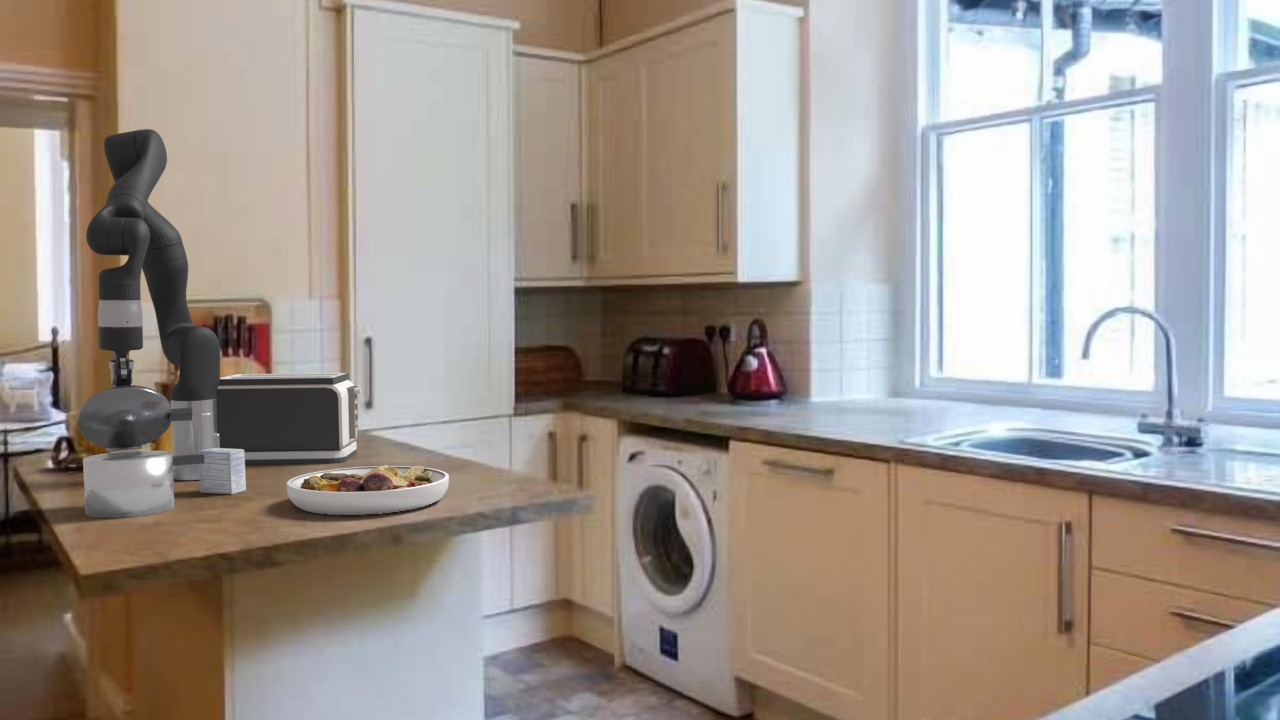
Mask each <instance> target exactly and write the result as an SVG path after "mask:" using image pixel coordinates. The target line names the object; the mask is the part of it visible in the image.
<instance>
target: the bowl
mask: <svg viewBox="0 0 1280 720" xmlns="http://www.w3.org/2000/svg"><path fill="white" fill-rule="evenodd" d="M449 484H450V476H449V474H448V473H447V472H445V471H443V470H440V469H437V468H430V467H424V466H423V465H415V466H414V465H413V466H409V465H407V466H405V465H387V464H384V465H379V466H378V465H375V466H354V467H345V468H334V469H328V470H319V471H314V472H309V473H305V474H301V475H297V476H294V477H292V478H290V479H289V480H288V481H287V482H286V492H287V496H288V498H289V500H290V501H291V503H293V504H294V506H296V507H297V508H299V509H300V510H303V511H305V512H309V513H313V514H317V513H318V515H324V514H327V515H326V516H339V515H361V516H365V515H364V514H379V513H389V512H397V511H404V510H410V509H415V508H419V507H423V506H426V505H429V504H431V505H433V504H435V503H436V501H437V502H438V501H439V500H441V498H443V497H444V496H445V494H446V492H447V490H448V488H449ZM434 502H435V503H434ZM432 503H433V504H432ZM429 506H430V505H429ZM426 507H427V506H426ZM423 508H424V507H423ZM419 509H420V508H419ZM415 510H416V509H415ZM410 511H411V510H410ZM404 512H405V511H404ZM379 515H380V514H379Z"/></svg>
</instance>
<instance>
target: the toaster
mask: <svg viewBox="0 0 1280 720" xmlns="http://www.w3.org/2000/svg"><path fill="white" fill-rule="evenodd" d="M349 377H350V376H349V372H326V373H325V372H319V373H318V372H316V373H315V372H314V373H311V372H310V373H303V372H302V373H298V372H297V373H238V374H237V373H235V374H231V375H227V376H223V377H221V376H220V382H219V386H218V388H217V391H216V404H217V433H219V439H220V448H227V449H243V450H244V455H245V466H247V465H248V466H255V465H256V466H257V465H258V466H259V465H265V466H267V465H311V464H317V465H320V464H321V465H322V464H323V465H324V464H327V465H329V464H339V463H345V462H347V461H348V460H350V459H351V458H352V457H354V456H355V455H357V453H358V446H357V441H356V440H357V438H358V427H359V423H358V421H359V420H358V419H359V417H358V394H362V388H361V387H358V386H357V385H355V384H354V383H353V382H352V381H351V380H349Z"/></svg>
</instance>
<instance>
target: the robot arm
mask: <svg viewBox="0 0 1280 720" xmlns="http://www.w3.org/2000/svg"><path fill="white" fill-rule="evenodd" d="M103 149H104V155H105V158H106V162H107V165H108V168H109V170H110V173H111V175H112V178H113V179H112V180H113V181H114V183H113V185H112V186H111V187H110V189H109V191H108V194H107V197H106V201H105V205H104V206H102V208H101V209H100V210H99V211H98V212H97V213H95V215H94V216H93V217H91V220H90V222H89V223H88V224H87V225H88V226H87V229H86V234H85V237H86V238H85V239H86V243H87V246H88V247H89V249H90V250H91V251H92V252H94V253H95V254H96V255H97V254H98V255H101V256H128V257H127V260H126V261H125V263H124V264H122V265H120V266H119V265H118V266H115V267H110V268H105V269H102V270H100V272H99V273H98V309H97V328H98V329H97V330H98V331H97V336H98V337H97V338H98V339H97V340H98V341H97V342H98V349H99V350H101V351H112V352H113V353H112V354H113V359H109V361H108V367H109V370H110V383H111V384H112V387H117V386H125V385H133V371H134V368H135V367H134V366H135V365H134V363H135V360H134V359H132V358H131V359H130V352H131V351H139V350H140V351H141V350H142V349H143V347H144V331H143V330H144V327H143V308H142V302H141V299H142V297H141V276H142V273H143V275H144V279H145V281H146V285H147V288H148V289H147V290H148V292H149V296H150V299H151V303H152V305H153V309H154V313H155V318H156V322H157V328H158V333H159V340H160V344H161V345H160V346H161V349H162V353H163V355H164V357H165V358H166V360H167V361H168V362H169V363H170V364H171V365H173V366H175V367H178V368H179V372H178V373H179V376H178V380H177V382H176V383H175V384H174V385H173V386H172V387H171V389H170V405H171V409H179V408H192V420H187V421H171V444H172V445H171V447H172V448H171V450H172V451H171V453H172V454H173V456H180V455H193V454H199V452H200V451H202V450H206V449H211V448H220V439H219V433H217V404H216V391H217V388H218V386H219V382H220V378H221V346H220V342H219V339H218V337H217V335H216V333H215V332H214V331H213V330H212V329H210V328H209V327H206V326H202V325H195V324H194V322H193V320H192V316H191V313H190V309H189V306H188V301H187V290H188V289H187V288H188V280H189V261H188V257H187V253H186V249H185V246H184V242H183V240H182V237H181V234H180V232H179V230H178V229H177V228H176V227H175V226H174V225H173V224H172V222H170V221H169V220H168V219H167V218H166V217H165V216H163V214H161V213H160V212H159V211H158V210H157V209H156V208H155V207H153V206H152V205H151V204H150V202H149V198H150V196H151V194H152V192H153V190H154V189H155V187H156V186H157V184H158V182H159V181H160V178H161V176H162V175H163V174H164V172H165V169H166V167H167V165H168V164H167V163H168V155H167V149H166V146H165V143H164V140H163V138H162V137H161V135H160V134H159V133H158V132H157V131H156V130H155V129H151V128H148V129H147V128H145V129H144V128H143V129H137V130H131V131H124V132H119V133H114V134H109V135H107V136H106V137H105V138H104V142H103ZM173 480H177V481H178V480H179V481H196V480H199V481H200V464H190V465H178V466H173Z"/></svg>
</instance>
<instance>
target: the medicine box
mask: <svg viewBox="0 0 1280 720" xmlns="http://www.w3.org/2000/svg"><path fill="white" fill-rule="evenodd" d="M199 454H204V463H203V464H200V480H199V482H200V484H199V487H200V493H201V494H202V493H203V494H204V493H205V494H206V493H207V494H223V495H236V494H240V493H243V492H245V491H247V485H246V483H247V480H246V465H245V455H244V450H243V449H227V448H211V449H206V450H202V451H200V452H199Z"/></svg>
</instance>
